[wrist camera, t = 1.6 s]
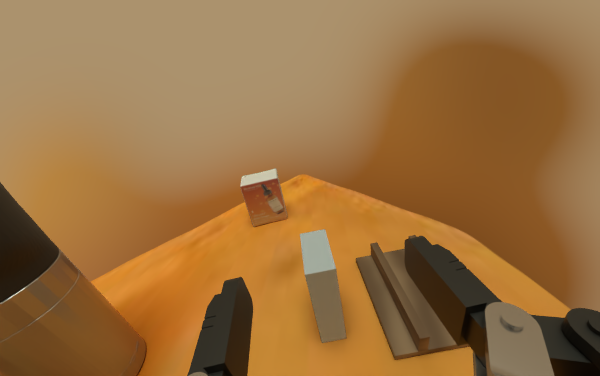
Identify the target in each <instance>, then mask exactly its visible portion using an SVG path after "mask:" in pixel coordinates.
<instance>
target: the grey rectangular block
mask: <svg viewBox="0 0 600 376" xmlns="http://www.w3.org/2000/svg"><path fill="white" fill-rule="evenodd" d="M300 238H301V246H302V255H303V263H304V271H305V277H306V281H307V285H308V289H309V293H310V297H311V301H312V305H313V309H314V313H315V317H316V321H317V325H318V329H319V333H320V337H321V341H322V343H324V342H330V341H335V340H340V339H346V331H345V325H344V318H343V311H342V305H341V298H340V292H339V285H338V279H337V272H336V267H335V264H334V260H333V256H332V253H331V249H330V246H329V242H328V239H327V235H326V231H325V229H323V230H318V231H313V232H308V233H303V234H300Z"/></svg>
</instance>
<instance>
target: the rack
mask: <svg viewBox="0 0 600 376" xmlns="http://www.w3.org/2000/svg"><path fill="white" fill-rule="evenodd" d="M414 237H416V236H415V235H413V236H409V239H410V238H414ZM404 257H405V249H401V250H396V251H391V252H386V253H383V252H382V251H381V249H380V247H379V245H378V243H372V244H371V255H370V256H365V257H360V258H356V263H357V265H358V268H359V270H360V273H361V275H362V278H363V280H364V283H365V285H366V288H367V290H368V293H369V296H370V298H371V301H372V303H373V306H374V308H375V311H376V313H377V316H378V318H379V321H380V323H381V326H382V328H383V331H384V333H385V336H386V338H387V341H388V343H389V346H390V349H391V351H392V354H393V356H394V359H395V360H397V359H402V358H408V357H413V356H418V355H424V354H429V353H434V352H440V351H445V350H451V349H456V348H461V347H467V346H469V344H465V345H460V346H458V345H457V344H456V343H455V341H454V340H453V338H452V337H451V335H450V334H449V332H448V331H447V330H446V328H445V327H444V325H443V324H442V322H441V321H440V319H439V318H438V317H437V315H436V314H435V312H434V311H433V309H432V308H431V306H430V305H429V304H428V302H427V301H426V299H425V298H424V296H423V295H422V293H421V292H420V290H419V289H418V288H417V286H416V285H415V283H414V282H413V280H412V279H411V277H410V276H409V274H408V272H407V270H406V267H405V263H404Z"/></svg>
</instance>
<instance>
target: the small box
mask: <svg viewBox="0 0 600 376" xmlns="http://www.w3.org/2000/svg"><path fill="white" fill-rule="evenodd" d="M240 188H241V191H242V194H243V197H244V200H245V203H246V206H247V209H248V212H249V215H250V218H251V221H252V224H253V226H258V225H262V224H266V223H270V222H275V221H279V220H285V219H287V212H286V207H285V203H284V199H283V195H282V190H281V186H280V182H279V179H278V174H277V170H276V169H272V170H269V171H264V172H260V173H256V174H251V175H246V176H242V180H241V186H240Z"/></svg>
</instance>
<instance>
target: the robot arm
mask: <svg viewBox="0 0 600 376" xmlns="http://www.w3.org/2000/svg"><path fill="white" fill-rule="evenodd" d="M404 263H405V267H406V270H407V272H408V274H409V276H410V277H411V279H412V280H413V282H414V283H415V285H416V286H417V288H418V289H419V290H420V292H421V293H422V295H423V296H424V298H425V299H426V301H427V302H428V304H429V305H430V306H431V308H432V309H433V311H434V312H435V314H436V315H437V317H438V318H439V319H440V321H441V322H442V324H443V325H444V327H445V328H446V330H447V331H448V332H449V334H450V335H451V337H452V338H453V340H454V341H455V343H456V344H457V345H458V346H460V345H465V344H469V346H470V347H471V348H472V350H473V351H474V352H473V365H474V376H600V312H598V311H594V310H590V309H585V308H576V309H572V310H570V311H569V312H568V313H567V315H566V317H565V318H559V317H547V316H536V315H530V314H528V313H527V312H526V311H524V310H522V309H521V308H519V307H517V306H514V305H512V304H508V303H504V302H502V301H501V300H500V299H498V298H497V297H496V296H495V295H494V294H493V293H492V292H491V291H490V290H489V289H488V288H487V287H486V286H485V285H484V284H483V283H482V282H481V281H480V280H479V279H478V278H477V277H476V276H475V275H474V274H473V273H472V272H471V271H470V270H469V269H467V268H466V266H465V265H464V264H463V263H461V262H459V260H458V259H457V258H456V257H455V256H454V255H453V254H452V253H451V252H450V251H449V250H447V249H445V248H443V247H442V246H440V245H438V244H436V245H432V244H431V243H430V242H429V241H428V240H427V239H426V238H425V237H423V236H419V237H414V238H410V239H406V240H405V257H404ZM252 316H253V303H252V299H251V296H250V294H249V291H248V289H247V287H246V285H245V283H244V280H243V278H242V277H239V278H235V279H230V280H226V281H225V282H224V284H223V288H222V292H221V294H217V295H215V296H214V298H213V299H212V301H211V302H210V304H209V305H208V307H207V311H206V314H205V320H204V321H203V325H202V330H201V332H200V335H199V339H198V342H197V346H196V349H195V353H194V356H193V359H192V363H191V366H190V370H189V373H188V375H187V376H247V373H248V361H249V350H250V339H251V327H252ZM145 353H146V344H145V342H144V340H143V339H142V338H141V337H140V335H139V334H138V333H137V332H136V331H135V330H134V329H133V328H132V327H131V326H130V324H129V323H128V322H127V321H126V320H125V319H124V318H123V317H122V316H121V315H120V313H119V312H118V311H117V310H116V309H115V308H114V307H113V306H112V305H111V304H110V303H109V302H108V301H107V299H106V298H105V297H104V296H103V295H102V294H101V293H100V292H99V291H98V290H97V289H96V288H95V287H94V285H93V284H92V283H91V282H90V281H89V280H88V279H87V278H86V277H85V276H84V275H83V274H82V273H81V272H80V270H79V269H77V267H76V266H75V265H74V264H73V263H72V262H71V261H70V260H69V259H68V258H67V257H66V256H65V255H64V253H63V252H62V251H61V250H60V249H59V248H58V247H57V246H56V245H55V244H54V243H53V242H52V241H51V240H50V239H49V238H48V237H47V235H46V234H45V233H44V232H43V231H42V230H41V229H40V228H39V226H38V225H37V224H36V223H35V222H34V221H33V220H32V218H31V217H30V216H29V215H28V214H27V213H26V212H25V211H24V210H23V208H22V207H21V206H20V205H19V204H18V203H17V202H16V201H15V199H14V198H13V197H12V196H11V195H10V194H9V192H8V191H7V190H6V189H5V188H4V186H3V185H2V184H1V183H0V376H137V374H138V372H139V370H140V368H141V366H142V364H143V361H144V358H145Z"/></svg>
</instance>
